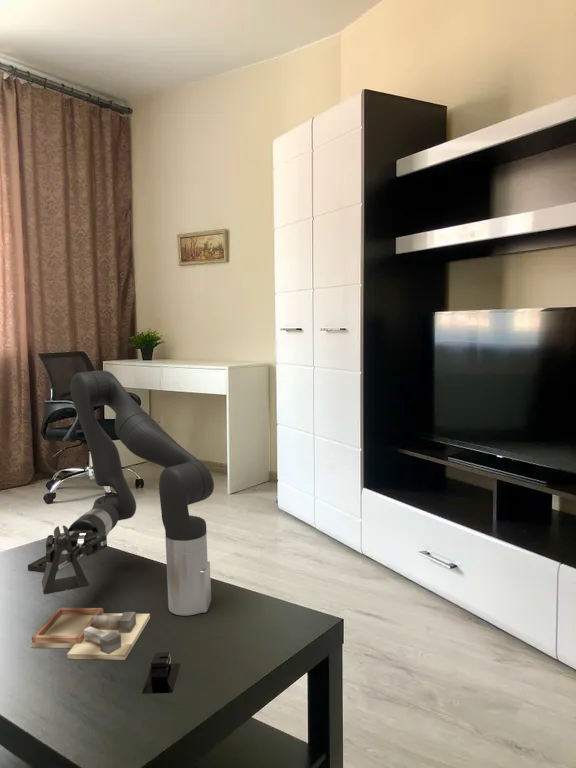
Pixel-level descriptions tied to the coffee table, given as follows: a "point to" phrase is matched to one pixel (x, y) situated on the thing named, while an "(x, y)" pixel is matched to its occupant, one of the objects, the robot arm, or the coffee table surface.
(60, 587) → the phone stand
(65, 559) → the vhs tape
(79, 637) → the stand
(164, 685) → the black slotted box
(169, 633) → the coffee table surface
